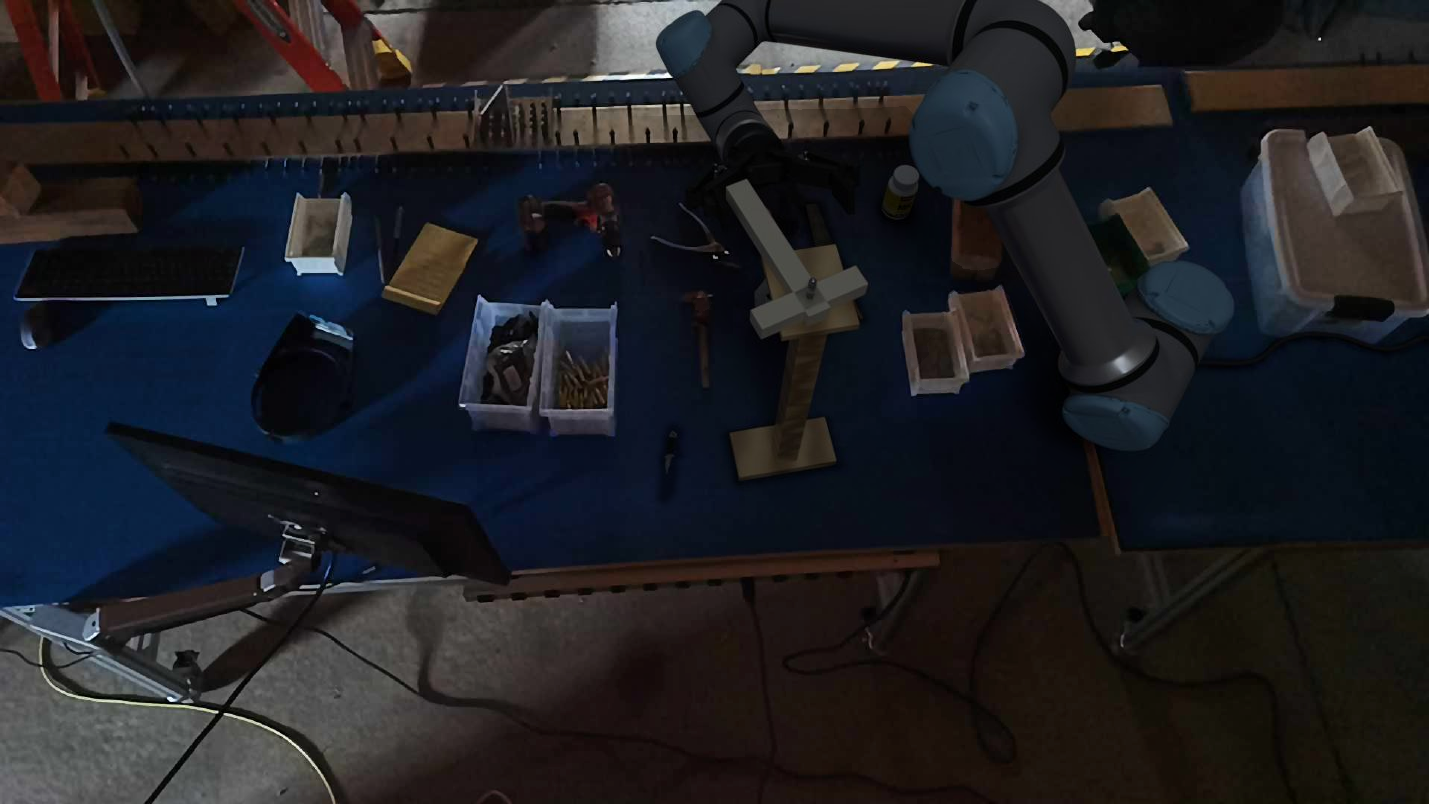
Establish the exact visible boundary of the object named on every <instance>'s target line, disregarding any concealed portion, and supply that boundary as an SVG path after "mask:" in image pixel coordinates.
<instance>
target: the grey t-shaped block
mask: <svg viewBox="0 0 1429 804" xmlns="http://www.w3.org/2000/svg"><path fill="white" fill-rule="evenodd" d="M725 201H726V203H727V204H728V206H729V207H730V209H732V211H733V213H734V214H735V216H736V217H737V219H738V221H739V222H740V224H741V225H742V227H743V229H744V230H745V232H746V234H747V235H748V237H749V238H750V240H751V241H752V243H753V245H754V246H755V248H756V250H757V251H758V252H759V254H760V257H761V256H762V257H763V259H764V260H765V262H766V263H767V265H768V267H769V268H770V270H771V271H772V273H773V275H774V276H775V278H776V279H777V281H778V282H779V284H780V286H781V287H782V289H783V290H784V292H785V294H786V295H785V296H782V297H780V298H778V299H775V300H773V301H771V300H770V301H771V302H768V303H766V304H764V305H761V306H759V307H754V308H752V309H750V314H749V322H750V324H751V325H752V327H753V329H754V330H755V332H756V334H757V335H758V337H759V338H760V340H763V339H766V338H768V337H770V336H773V335H775V334H778V333H779V332H780V331H782V330H784V329H786V328H789V327H791V326H793V325H796V324H798V323H800V322H804V324H805V325H806V327H808V326H811V325H813V324H815V323H818V322H820V321H822V320H824V319H827V318H828V317H829V312H830V309H833V308H835V307H837V306H840V305H842V304H844V303H847V302H849V301H851V300H854V299H855V300H856V299H858V298H860V297H863V296H866V293H867V289H868V286H869V283H868V281H867V280H866V278H865V277H864V276H863V273H861V271H860V270H859V268H858V266H857V265H853V266H851V267H849V268H847V269H843V270H844V271H842V272H839V273H837V274H835V275H832V276H830V277H827V278H825V279H823V280H820V281H818V282H817V280H816V278H811V276H810V275H809V273H808V272H807V270H806V269H805V267H804V266H803V264H802V263H801V261H800V260H799V258H798V256H797V255H796V253H795V252H794V248H793V247H792V246H791V244H790V242H789V241H788V240H787V238H786V236H785V235H784V234H783V232H782V230H781V229H780V227H779V226H778V224H777V223H776V221H775V220H774V218H773V216H772V215H771V213H770V212H769V210H768V209H767V208H766V206H765V205H764V203H763V201H762V199H761V198H760V197H759V195H758V194H757V192H756V191H755V189H753V188H752V186H751V185H750V183H749V181H748V180H747V179H745V180H742V181H740V182H737V183H735V184H732V185H729V186H727V187H726V200H725Z"/></svg>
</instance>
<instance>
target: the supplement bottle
mask: <svg viewBox="0 0 1429 804" xmlns="http://www.w3.org/2000/svg"><path fill="white" fill-rule="evenodd" d="M919 179H920V172H919V171H918V169H917V168H916V167H914V166H911V165H908V164H902V165H899V166H898V167H896V168H895V169H894V171H893V175H892V176H891V177H890V178H889V180H888V182H887V186H886V189H885V193H884V197H883V200H882V204H881V210H882V213H883V214H884V215H885V216H886V217H887V218H889V219H892V220H898V221H899V220H903V219H906V217H908V216H909V214H910V212H911V211H912V210H911V209H912V207H913V205H914V202H915V198H916V195H917V192H918V190H919Z"/></svg>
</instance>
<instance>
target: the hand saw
mask: <svg viewBox="0 0 1429 804" xmlns="http://www.w3.org/2000/svg"><path fill="white" fill-rule="evenodd" d="M805 209H806V213H807V218H808V222H809V226H810V231H811V236H812V240H813V244H814V247H820V246H827V245H834V244H833V241H832V238H831V236H830V233H829V231H828V228H827V226H826V223H825V220H824V218H823V216H822V213H821V210H820V209H819V206H818V204H817V203H808V204H807V203H806V204H805ZM853 303H854V306H855V310H856V313H857V316H858V319H859V321H862V320H863V314H862V313H861V311H860V309H859V308H858V303H856V299H854V300H853Z"/></svg>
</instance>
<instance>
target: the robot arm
mask: <svg viewBox="0 0 1429 804" xmlns="http://www.w3.org/2000/svg"><path fill="white" fill-rule="evenodd" d="M766 42H768V43H774V44H783V45H790V46H797V47H802V48H803V47H805V48H810V49H818V50H826V51H832V52H840V53H846V54H847V53H848V54H855V55H861V56H868V57H876V58H885V59H891V60H898V61H906V62H912V63H919V64H927V65H933V66H940V67H941V66H942V67H947V68H946V70H944V73H943V74H942V75H941V76H939V77H938V78H937V79H936V80H935V81H934V82H933V83H932V84H931V85H930V87H929V88H928V89H927V91H926V92H925V94H924V95H923V97H922V101H921V102H920V103H919V105H918V106H917V108H916V109H915V111H914V113H913V115H912V117H911V120H910V125H909V130H908V146H909V151H910V155H911V158H912V160H913V161H912V162H913V163H914V166H915V168H916V170H917V171H918V173H919V175H920V176H921V177H922V178H923V179H924V181H925V182H926V183H927V184H929V186H930V187H932V188H933V189H936V188H940V190H941V194H942V195H943V196H946V197H948V198H949V199H954V200H957V201H962V202H963V204H964V205H965V206H967V207H969V208H973V209H979V210H984V212H985V214H986V215H987V218H988V219H989V222H991V224H992V226H993V228H994V230H995V231H996V234H997V235H998V237H999V239H1000V240H1001V242H1002V244H1003V246H1004V248H1005V250H1006V251H1007V253H1008V256H1009V257H1010V259H1011V261H1012V262H1013V264H1014V266H1015V268H1016V270H1017V271H1018V273H1019V275H1020V277H1021V278H1022V280H1023V282H1024V284H1025V286H1026V288H1027V290H1028V291H1029V293H1030V295H1031V296H1032V298H1033V300H1034V302H1035V303H1036V305H1037V307H1038V309H1039V311H1040V313H1041V314H1042V316H1043V318H1044V320H1045V322H1046V324H1047V325H1048V327H1049V329H1050V330H1051V332H1052V334H1053V336H1054V338H1055V339H1056V342H1057V343H1058V345H1059V347H1060V349H1061V351H1060V353H1059V355H1058V359H1057V367H1058V371H1059V373H1060V375H1061V377H1062V379H1063V380H1064V382H1065V385H1066V386H1067V387H1068V389H1069V395H1068V397H1067V398H1065V399H1064V400H1063V406H1062V408H1061V416H1062V418H1063V419H1062V420H1064V422H1065V423H1066V425H1067V426H1068V427H1069V428H1070V429H1071V430H1072V431H1073V432H1074V433H1076V434H1077V435H1079V436H1080V437H1081V438H1083V439H1085V440H1087V441H1088V442H1091V443H1094V444H1095V445H1098V446H1101V447H1103V448H1106V449H1111V450H1114V451H1121V452H1140V451H1144V450H1147V449H1149V448H1151V447H1152V446H1155V444H1157V442H1158V441H1159V440H1160V438H1161V436H1162V435H1163V433H1164V432H1165V430H1167V429H1168V428H1169V427H1170V422H1171V420H1172V418H1173V415H1174V414H1175V412H1176V410H1177V408H1178V406H1179V404H1180V402H1181V400H1182V398H1183V396H1184V394H1185V392H1186V390H1187V388H1188V387H1189V386H1188V385H1189V384H1190V382H1191V380H1192V378H1193V377H1194V374H1195V371H1196V369H1197V367H1198V366H1203V367H1204V366H1217V367H1245V366H1249V365H1254V364H1257V363H1259V362H1261V361H1263V360H1264V359H1266V358H1267V357H1268V356H1270V355H1271V354H1272V353H1273V352H1274V351H1275V350H1276V349H1278V348H1279V347H1280V346H1281V345H1282V344H1285V343H1287V342H1290V341H1294V340H1297V339H1302V338H1332V339H1338V340H1343V341H1346V342H1349V343H1352V344H1355V345H1357V346H1360V347H1363V348H1366V349H1369V350H1373V351H1377V352H1385V353H1386V352H1389V353H1391V352H1397V351H1401V350H1404V349H1406V348H1409V347H1411V346H1414V345H1415V344H1417V343H1420V342H1423V341H1425V342H1429V335H1425V334H1424V335H1420V336H1417V337H1415V338H1413V339H1411V340H1408V341H1406V342H1404V343H1401V344H1398V345H1393V346H1381V345H1376V344H1372V343H1368V342H1366V341H1364V340H1361V339H1358V338H1355V337H1352V336H1349V335H1345V334H1342V333H1337V332H1325V331H1307V332H1305V331H1304V332H1299V333H1294V334H1291V335H1288V336H1284V337H1283V338H1280V339H1278V340H1277V341H1275V342H1274V343H1273V344H1272V345H1271V346H1269V347H1268V348H1267V349H1266V350H1265V351H1264V352H1262V353H1261V354H1260V355H1258V356H1256V357H1253V358H1250V359H1247V360H1231V361H1230V360H1202V358H1203V356H1204V354H1205V353H1206V351H1207V349H1208V347H1209V345H1210V344H1211V343H1212V341H1213V340H1214V338H1215V337H1216V336H1217V335H1218V334H1220V333H1222V332H1223V331H1224V330H1225V329H1226V328H1227V327H1228V325H1229V323H1230V321H1231V320H1232V319H1233V316H1234V313H1235V302H1234V301H1235V300H1234V298H1233V295H1232V293H1231V291H1230V290H1229V289H1228V288H1227V287H1226V284H1225V282H1224V281H1223V280H1222V279H1221V278H1220V277H1219V276H1218V275H1217V274H1215V273H1214V272H1212V271H1211V270H1209V269H1208V268H1206V267H1204V266H1202V265H1200V264H1197V263H1194V262H1190V261H1186V260H1179V259H1177V260H1176V259H1175V260H1163V261H1160V262H1159V263H1156V264H1154V265H1152V266H1151V267H1149V268H1148V270H1147V271H1146V272H1144V273H1143V274H1141V275H1140V276H1139V278H1138V279H1137V282H1136V284H1135V285H1134V287H1133V288H1132V289H1131V290H1130V292H1129V293H1128V294H1127V296H1125V298H1124V299H1123V297H1122V295H1121V293H1120V291H1119V289H1118V287H1117V285H1116V283H1115V281H1114V279H1113V276H1112V274H1111V273H1110V270H1109V268H1108V266H1107V264H1106V262H1105V260H1104V258H1103V256H1102V254H1101V252H1100V250H1099V248H1098V246H1097V243H1096V241H1095V240H1094V238H1093V236H1092V234H1091V232H1090V230H1089V228H1088V225H1087V224H1086V222H1085V220H1084V218H1083V215H1082V213H1081V211H1080V209H1079V208H1078V205H1077V203H1076V201H1075V199H1074V198H1073V197H1074V196H1073V195H1072V193H1071V191H1070V189H1069V187H1068V185H1067V183H1066V180H1065V179H1064V177H1063V175H1062V172H1061V171H1060V169H1059V168H1060V167H1061V164H1062V163H1063V160H1064V158H1065V156H1066V145H1065V143H1064V140H1063V138H1062V136H1061V134H1060V132H1059V131H1058V128H1057V126H1056V124H1055V121H1053V118H1052V113H1053V112H1054V110H1055V108H1056V107H1057V105H1058V104H1059V102H1060V101H1061V100H1062V99H1063V97H1064V96H1065V95H1066V93H1067V91H1068V89H1069V87H1070V85H1071V83H1072V81H1073V78H1074V75H1075V71H1076V66H1077V48H1076V43H1075V42H1076V41H1075V38H1074V35H1073V33H1072V31H1071V29H1070V26H1069V25H1068V23H1067V22H1066V20H1065V19H1064V18H1063V16H1061V15H1060V14H1059V13H1058V11H1056V10H1055V9H1054V8H1053V7H1052V6H1050V5H1049V4H1047V3H1045V2H1043V1H1041V0H720V1H719V2H718V3H717V4H716V5H715V6H713V7H712V8H711V10H710V11H708V12H707V13H706V14H705V13H704V11H701V10H698V9H694V10H691V11H688V12H685V13H684V14H682V15H680V16H678V17H677V18H675V19H674V20H673V21H672V22H671V23H669V24H668V25H666V26H665V27H664V28H663V29H662V30H661V31H660V32H659V34H658V35H657V37H656V40H655V48H656V51H657V53H658V55H659V57H660V59H661V62H662V63H663V65H664V67H665V69H666V72H667V73H668V75H669V76H670V77H671V78H672V80H673V81H674V83H675V84H676V86H677V87H678V88H679V90H680V92H681V93H682V94H683V97H684V98H685V99H686V101H687V102H688V104H689V106H690V107H691V108H692V111H693V113H694V115H695V117H696V119H697V121H698V122H699V124H700V126H701V127H702V129H703V130H704V132H705V133H706V135H707V137H708V139H709V140H710V143H711V144H712V145H713V146H714V149H715V150H716V151H717V154H718V156H719V158H720V160H721V162H722V164H721V165H718V163H717V162H714V161H713V160H712V159H706V160H703V162H702V166H703V167H702V168H701V169H700V170H699V171H698V172H697V173H696V175H695V176H694V177H693V178H692V179H691V181H690V182H689V183H688V184H687V185H686V186H685V187H684V197H685V205H686V206H685V207H686V211H688V212H691V211H692V212H693V211H696V210H698V208H699V207H702V211H703V216H704V217H706V218H712V217H713V218H714V217H716V218H717V220H718V223H719V225H720V227H721V230H722V232H723V234H729V233H732V228H731V217H730V215H731V214H730V206H729V204H728V202H727V200H726V187H727V186H729V185H732V184H735V183H737V182H740V181H742V180H745V179H747V180H748V181H749V183H750V185H751V186H752V188H753V189H754V190H759V189H764V188H765V187H768V186H771V184H772V185H776V184H781V185H786V186H789V187H790V186H791V187H792V186H794V185H796V184H801V185H805V186H811V187H815V188H821V189H825V190H830V191H831V195H832V197H833V198H834V199H835V200H836V202H837V203H838V204H839V206H840V207H841V208H842V209H843V211H844V212H845V213H846V215H847V216H853V215H856V188H859V187H860V186H861V164H860V163H857V162H854V161H852V160H848V159H844V158H842V157H840V156H839V157H838V156H836V155H832V154H829V153H825V152H823V151H820V150H818V149H817V148H815V147H814V146H811V145H807V146H805V147H804V148H803V152H802V153H801V154H796V153H793V152H791V151H788V150H786V147H785V145H784V143H783V141H782V140H781V138H780V137H779V136H778V134H777V133H776V132H775V130H774V128H773V127H772V126H771V125H770V123H768V122H767V120H766V119H765V118H764V117H763V115H762V113H761V112H760V110H759V108H758V107H757V105H756V102H755V101H754V100H753V98H752V96H751V94H750V92H749V91H748V89H747V88H746V86H745V83H744V81H743V80H742V78H741V76H740V74H739V71H738V67H739V66H741V64H743V62H744V61H745V60H746V59H747V58H748V57H749V56H750V55H752V53H753V52H754V51H755V50H756V49H757V48H758V47H759V46H760V45H761V44H763V43H766Z"/></svg>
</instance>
